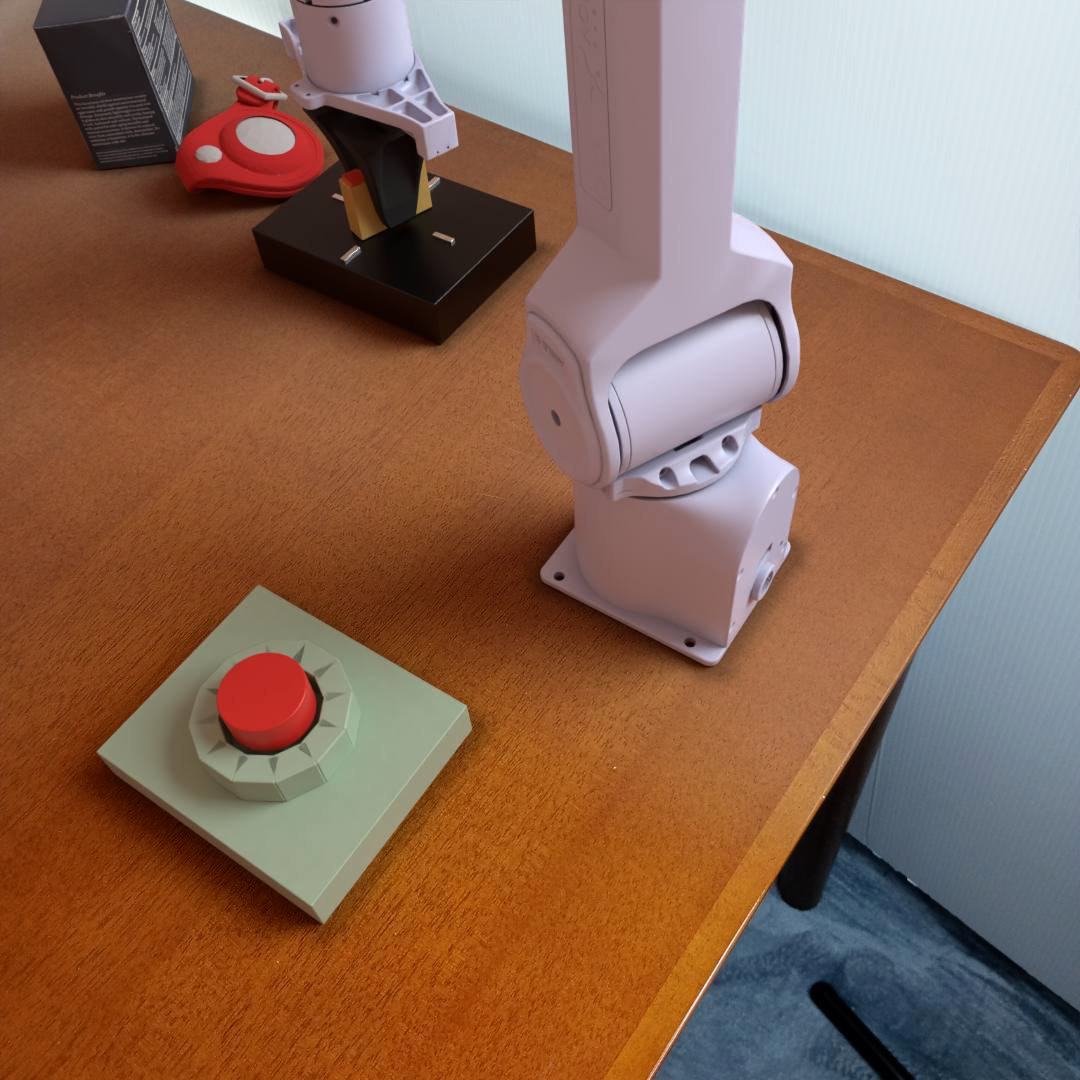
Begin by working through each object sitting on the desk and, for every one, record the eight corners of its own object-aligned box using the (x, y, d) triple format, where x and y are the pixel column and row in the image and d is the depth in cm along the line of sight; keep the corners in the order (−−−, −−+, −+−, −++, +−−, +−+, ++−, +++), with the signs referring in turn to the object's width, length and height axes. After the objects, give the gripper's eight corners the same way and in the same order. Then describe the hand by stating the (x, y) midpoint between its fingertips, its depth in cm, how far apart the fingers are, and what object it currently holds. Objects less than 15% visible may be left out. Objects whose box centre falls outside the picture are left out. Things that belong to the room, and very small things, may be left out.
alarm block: (473, 729, 47) (462, 684, 43) (324, 925, 42) (299, 890, 39) (270, 610, 51) (247, 560, 48) (115, 774, 46) (77, 731, 43)
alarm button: (334, 699, 44) (325, 677, 42) (275, 768, 42) (264, 748, 41) (270, 659, 45) (259, 637, 44) (210, 724, 43) (196, 703, 42)
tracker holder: (353, 164, 71) (208, 187, 66) (344, 215, 75) (206, 241, 70) (276, 50, 76) (135, 64, 71) (272, 103, 79) (137, 120, 74)
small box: (112, 92, 81) (53, -53, 73) (197, 82, 81) (149, -63, 73) (91, 172, 75) (25, 24, 66) (184, 161, 75) (130, 12, 66)
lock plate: (537, 250, 66) (534, 206, 64) (441, 345, 62) (433, 302, 59) (364, 185, 72) (355, 143, 69) (263, 269, 67) (249, 226, 64)
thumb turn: (420, 196, 65) (410, 141, 62) (432, 206, 65) (423, 151, 62) (350, 230, 64) (337, 175, 61) (362, 241, 63) (349, 186, 60)
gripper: (205, -42, 55) (273, 186, 66) (352, 64, 48) (401, 300, 59) (321, -85, 58) (368, 141, 69) (478, 9, 50) (503, 246, 61)
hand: (390, 211), depth 64 cm, fingers closed on thumb turn
